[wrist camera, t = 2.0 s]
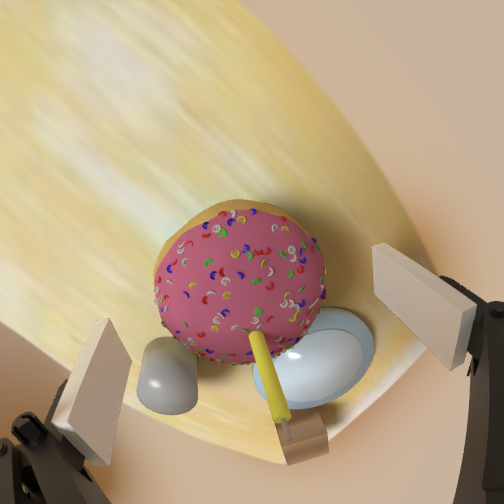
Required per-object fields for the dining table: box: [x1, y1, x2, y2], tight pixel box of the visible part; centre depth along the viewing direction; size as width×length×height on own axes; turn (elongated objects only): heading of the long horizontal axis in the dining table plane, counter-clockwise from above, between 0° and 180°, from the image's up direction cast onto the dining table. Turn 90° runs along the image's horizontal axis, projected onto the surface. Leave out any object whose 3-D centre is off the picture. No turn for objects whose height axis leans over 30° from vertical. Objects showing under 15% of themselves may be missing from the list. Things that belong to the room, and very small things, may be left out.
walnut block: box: [275, 407, 329, 466], centre depth 24 cm, size 4×4×4 cm
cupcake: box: [154, 199, 327, 441], centre depth 14 cm, size 9×8×12 cm
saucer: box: [252, 307, 374, 409], centre depth 23 cm, size 10×10×1 cm
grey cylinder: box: [137, 337, 198, 415], centre depth 19 cm, size 4×4×4 cm
